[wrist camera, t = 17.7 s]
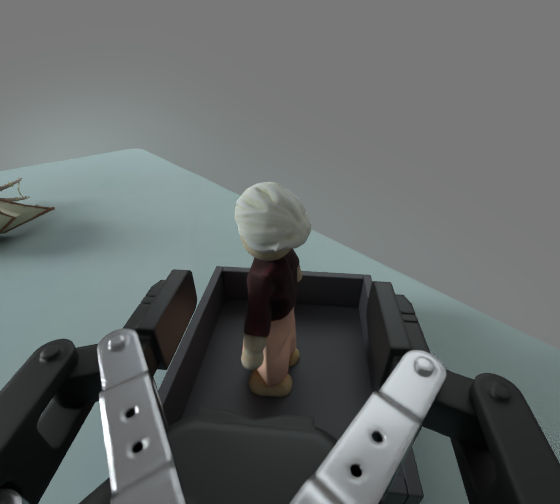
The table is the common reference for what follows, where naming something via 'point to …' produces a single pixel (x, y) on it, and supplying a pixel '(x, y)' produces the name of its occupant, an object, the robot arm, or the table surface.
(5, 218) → the figurine
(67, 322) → the table surface
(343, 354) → the pan
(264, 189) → the grandmother figurine
